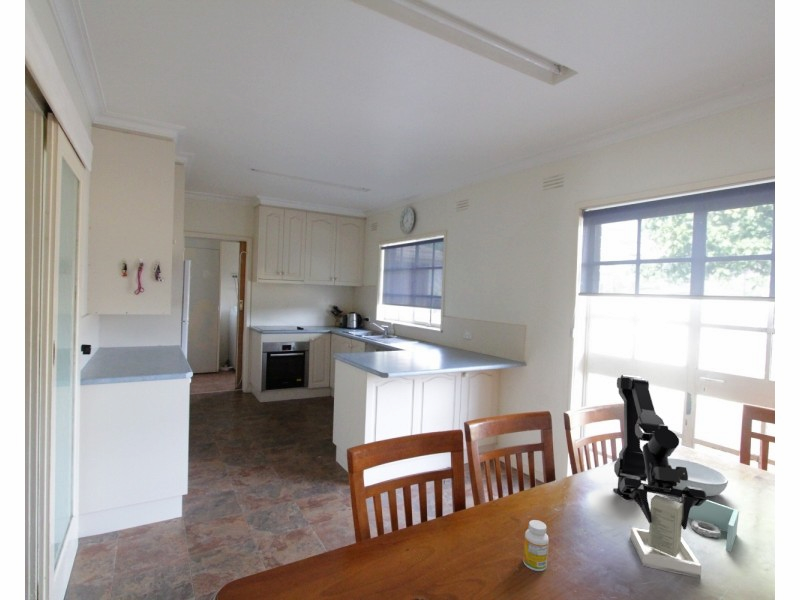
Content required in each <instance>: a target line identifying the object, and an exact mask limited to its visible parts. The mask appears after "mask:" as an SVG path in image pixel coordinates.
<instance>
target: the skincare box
mask: <svg viewBox="0 0 800 600" xmlns="http://www.w3.org/2000/svg"><path fill="white" fill-rule="evenodd" d="M679 502H680V501H675V500H673V499H670V498H668V497H667V498H666V497H664V496H661V495H660V494H655V495H654V496H653V497H651V498H650V507H649V508H650V513H651V519H652V522H651V523H649V525H648V526H649V528H648V530H649V542H648V546H650V547H652V548H655V549H657V550H659V551H662V552H664V553H666V554H669V555H671V556H673V557H676V556H677V555H678V553H679V552H680V543H681V537H682V511H683V504H682V503H679Z"/></svg>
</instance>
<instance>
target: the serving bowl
mask: <svg viewBox="0 0 800 600" xmlns="http://www.w3.org/2000/svg"><path fill="white" fill-rule="evenodd" d="M668 462H669V465H671V467H672V469H676V467H678V466H679V467H686V470H687V473H688V480H687V481H683V480H680V483H677V486H673V488H674V489H679V490H683V489H684V488H685V487H686V486H690V487H697V488H702V489H703V490H704V492H705V493H706V496H707V497H714V496H718V495H720V494H721V493H723V492H724V491H725V490H726V488H727V486H728V483H729V478H728V477H727V476H726V475H725V474H723V473H722V472H721V471H719V470H717V469H715V468H713V467H710V466H709V465H708V466H707V465H705V464H703V463H699V462H695V461H693V460H692V461H691V460H688V459H687V460H686V459H681V458H674V457H668Z"/></svg>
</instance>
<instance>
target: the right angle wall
mask: <svg viewBox="0 0 800 600" xmlns="http://www.w3.org/2000/svg"><path fill="white" fill-rule="evenodd" d="M739 513H740V510H739V509H736V508H734V507H733V508H732V507H729V506H727V505H723V504H721V503H718V502H715V501H712V500H709V499H707V500H706V501H705V502H704V503H702V504H701V505H700V506H693V507H691V508H690V511H689V516H688V519H691V520H692V521H691V523H690V524H691V525H690V526H689V527H690V528H691V529H692V530H694V531H695V532H697V533H698V534H699V535H704V536H705V537H708V538H710V537H711V538H716V539H717V538H721V536H722V534H721V531H723V530H724V531H723V532H726V533H727V535H726V544H725V551H728V552H731V553H732V549H733V545H734V542H735V540H736V536H737V533H738V523H739V515H740V514H739ZM720 529H721V530H720Z"/></svg>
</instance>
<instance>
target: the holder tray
mask: <svg viewBox="0 0 800 600" xmlns="http://www.w3.org/2000/svg"><path fill="white" fill-rule="evenodd" d="M629 535H630V536H629V537H630V538H629V539H630V540H631V542H632V544H633V546H634V549H635V551H636V554H637V555H638V557H639V559H640V562H641V563H642V566H643V567H647V568H652V569H656V570H659V571H660V570H661V571H665V572H669V573H674V574H679V575H683V576H688V577H692V578H697V579H701V578H702V577H701V576H702V567H703V566H702V564H701V563H700V561H699V560H698V558H697V557H696V556H695V554H694V553H693V551H692V549H690V547H689V545H688V543H687V542H686V541H685V540H684V538H683V537H682V536H681V543H680V552H679V553H678V555H677V556H676V557H673V556H671V555H669V554H666V553H664V552H662V551H659V550H657V549H655V548H652V547H650V546H648V542H649V529H648V530H647V529H644V528H643V529H642V528H638V527H630V534H629Z"/></svg>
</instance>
